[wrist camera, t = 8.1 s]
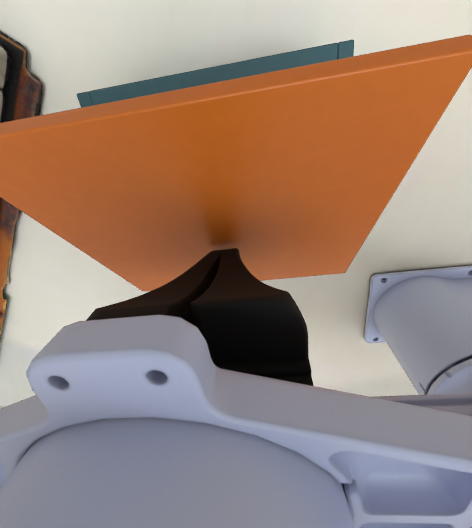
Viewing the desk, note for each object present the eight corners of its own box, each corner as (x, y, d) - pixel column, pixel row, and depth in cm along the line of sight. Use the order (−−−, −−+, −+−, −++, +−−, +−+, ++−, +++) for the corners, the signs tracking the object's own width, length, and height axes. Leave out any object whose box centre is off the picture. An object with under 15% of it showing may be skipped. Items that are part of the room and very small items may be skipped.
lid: (-64, 134, 7) (-74, 149, 7) (472, 32, 5) (485, 47, 5) (143, 283, 18) (142, 291, 18) (343, 264, 16) (345, 273, 16)
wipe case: (125, 103, 18) (75, 93, 13) (323, 67, 16) (354, 39, 11) (168, 250, 23) (145, 284, 18) (321, 234, 21) (342, 266, 16)
